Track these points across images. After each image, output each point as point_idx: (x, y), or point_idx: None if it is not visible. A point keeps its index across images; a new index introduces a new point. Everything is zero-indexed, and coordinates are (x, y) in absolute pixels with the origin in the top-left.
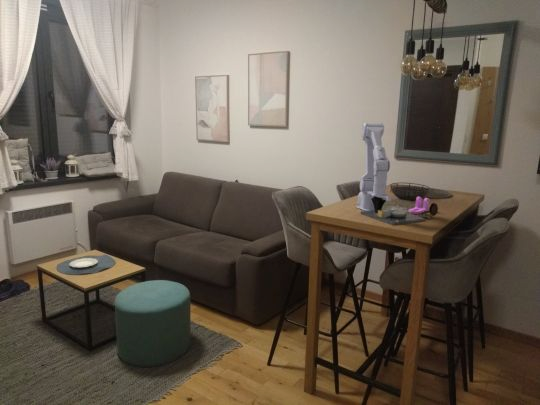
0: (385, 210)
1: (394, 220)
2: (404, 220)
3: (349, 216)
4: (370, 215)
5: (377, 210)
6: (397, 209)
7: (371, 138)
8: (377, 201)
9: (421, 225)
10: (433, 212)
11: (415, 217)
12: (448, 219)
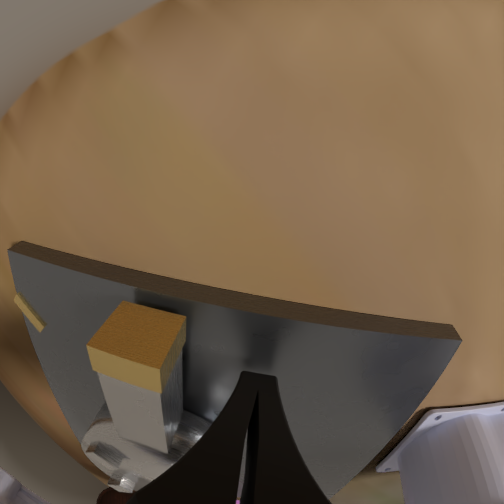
0: (130, 411)
1: (48, 318)
2: (45, 364)
3: (479, 132)
4: (311, 318)
5: (231, 399)
6: (89, 450)
7: None
8: (144, 497)
9: (18, 366)
10: (126, 499)
11: None
12: (98, 476)
